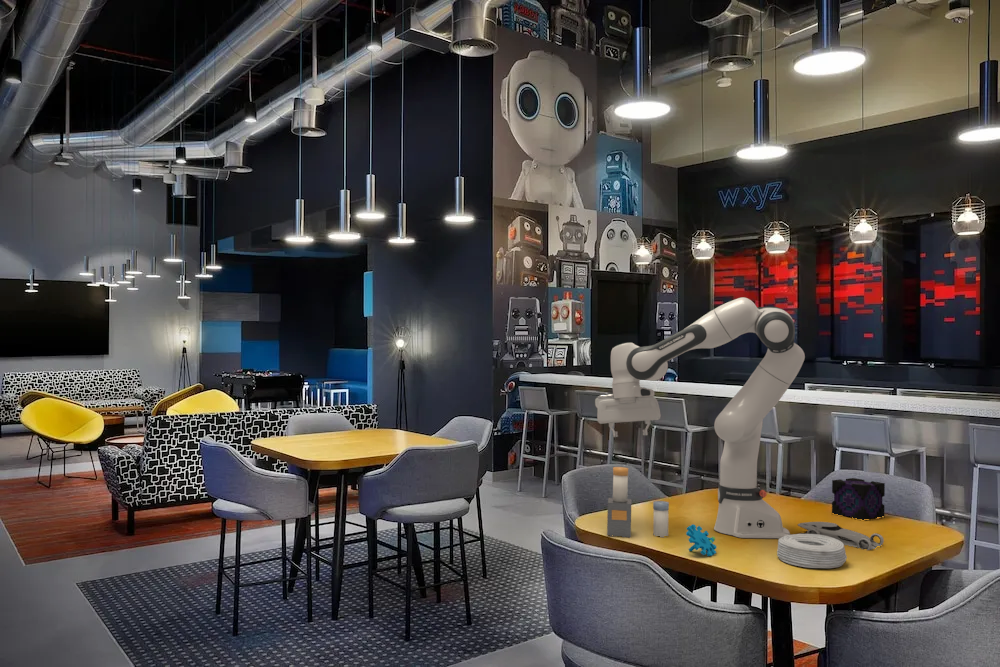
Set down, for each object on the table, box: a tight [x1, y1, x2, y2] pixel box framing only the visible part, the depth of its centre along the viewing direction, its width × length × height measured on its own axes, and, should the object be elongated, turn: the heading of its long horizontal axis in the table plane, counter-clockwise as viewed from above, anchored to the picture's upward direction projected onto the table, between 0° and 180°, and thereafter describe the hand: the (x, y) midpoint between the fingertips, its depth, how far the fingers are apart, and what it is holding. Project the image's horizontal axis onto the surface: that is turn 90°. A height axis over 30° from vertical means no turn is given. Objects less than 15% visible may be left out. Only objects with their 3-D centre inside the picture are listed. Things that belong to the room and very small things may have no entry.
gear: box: [685, 523, 717, 557], centre depth 216 cm, size 11×6×10 cm
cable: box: [776, 533, 848, 569], centre depth 210 cm, size 18×18×6 cm
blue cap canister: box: [652, 500, 670, 538], centre depth 236 cm, size 5×5×10 cm
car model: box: [797, 521, 885, 551], centre depth 234 cm, size 11×24×5 cm, turn 43°
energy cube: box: [831, 477, 886, 520], centre depth 271 cm, size 12×12×12 cm
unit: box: [606, 497, 632, 538], centre depth 237 cm, size 7×9×10 cm
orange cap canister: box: [612, 466, 629, 502], centre depth 237 cm, size 5×5×10 cm
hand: (630, 436), depth 249 cm, fingers open, 8 cm apart
